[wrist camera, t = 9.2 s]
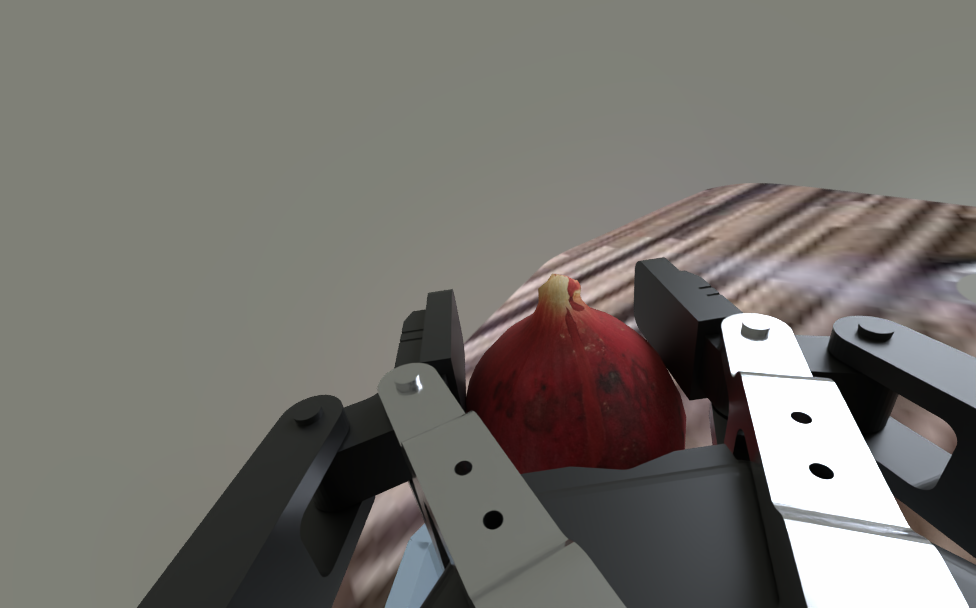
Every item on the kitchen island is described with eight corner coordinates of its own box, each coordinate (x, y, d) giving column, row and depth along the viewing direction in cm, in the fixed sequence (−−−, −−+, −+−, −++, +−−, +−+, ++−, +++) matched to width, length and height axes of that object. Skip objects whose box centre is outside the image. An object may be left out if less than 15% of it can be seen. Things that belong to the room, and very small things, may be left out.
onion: (722, 564, 12) (777, 304, 8) (523, 654, 10) (473, 399, 7) (607, 422, 17) (606, 221, 13) (462, 472, 15) (415, 267, 12)
